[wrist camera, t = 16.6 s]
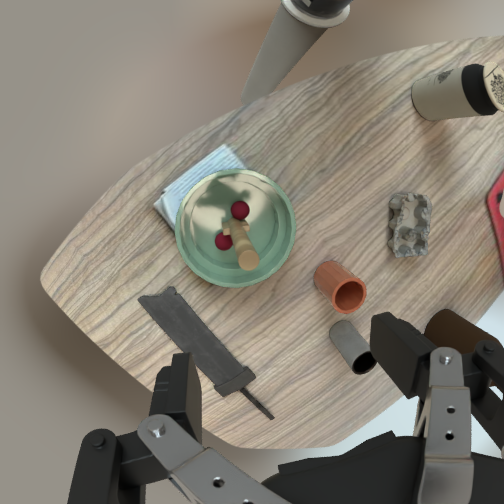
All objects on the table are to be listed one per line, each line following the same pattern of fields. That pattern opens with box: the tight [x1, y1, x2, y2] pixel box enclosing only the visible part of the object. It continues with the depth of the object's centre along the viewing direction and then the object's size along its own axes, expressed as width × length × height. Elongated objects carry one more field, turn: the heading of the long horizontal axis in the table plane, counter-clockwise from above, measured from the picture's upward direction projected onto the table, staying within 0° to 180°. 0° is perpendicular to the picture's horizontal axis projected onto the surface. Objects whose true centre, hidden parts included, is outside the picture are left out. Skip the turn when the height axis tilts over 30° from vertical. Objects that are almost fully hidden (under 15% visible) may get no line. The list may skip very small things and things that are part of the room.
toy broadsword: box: [138, 287, 275, 420], centre depth 48 cm, size 7×35×2 cm, turn 33°
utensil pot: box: [314, 261, 366, 314], centre depth 43 cm, size 5×5×8 cm
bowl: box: [175, 168, 296, 288], centre depth 40 cm, size 15×15×6 cm
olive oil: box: [424, 309, 503, 393], centre depth 43 cm, size 11×11×25 cm
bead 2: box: [231, 201, 250, 220], centre depth 41 cm, size 3×3×3 cm
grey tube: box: [329, 321, 377, 375], centre depth 45 cm, size 4×4×10 cm
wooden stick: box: [222, 217, 260, 271], centre depth 34 cm, size 2×3×18 cm, turn 97°
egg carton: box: [388, 193, 432, 258], centre depth 45 cm, size 11×8×4 cm
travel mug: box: [412, 62, 504, 121], centre depth 32 cm, size 8×8×18 cm
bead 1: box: [215, 232, 233, 251], centre depth 41 cm, size 3×3×3 cm
